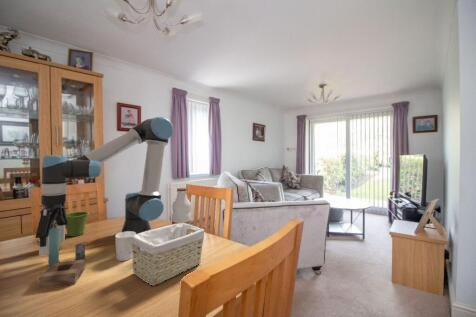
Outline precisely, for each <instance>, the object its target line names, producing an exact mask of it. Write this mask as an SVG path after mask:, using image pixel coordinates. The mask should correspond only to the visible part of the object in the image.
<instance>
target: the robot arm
mask: <svg viewBox="0 0 476 317" xmlns="http://www.w3.org/2000/svg"><path fill="white" fill-rule="evenodd" d="M173 133H174V125H173V123H172V122H171V121H170V119H168V118H166V117H163V116H156V117H155V116H154V117H152V118H147V119H145V120H143V121H141V122H139V123H138V124H136V125H135V126H132V127H131V128H130V129H129V131H128V132H126V133H124V134H122V135H120V136H117V137H116V138H114V139H112V140H110V141H108V142H106V143H104V144H103V145H100V146H98V147H96V148H94V149H93V150H91V151H89V152H87V153H84V154H83V155H81V156H78V157H77V158H73V159H71V160H68V157H67V155H64V154H63V155H61V154H60V155H56V154H54V155H53V154H51V155H50V154H48V155H47V154H46V155H44V156H43V157H42V164H41V186H40V188H41V194H42V195H41V199H40V204H41V205H42V206H43V205H46V210H43V209H41V211H40V218H39V221H38V225H37V230H36V233H35V239H39V240H38V243H39V244H38V256H43V255H44V256H46V255H48V254H49V236H48V234H49V231H50V228H51V225H52V223H53V220H56V222H57V224H58V225H59V226H57V227H56V228H58V229H59V241H62V242H64V241H65V240H66V239H65V236H66V234H65V233H66V225H67V224H68V222H67V216H66V214H67V212H66V208H65V206H66V204H65V203H66V201H67V194H66V193H67V179H86V178H88V179H89V178H90V179H92V178H98V177H100V175H101V174H102V173H101V172H102V166H101V164H103V163H105V162H107V161H109V160H110V159H112V158H113V157H116V156H117V155H119V154H121V153H123V152H125V151H126V150H128V149H130V148H132V147H134V146H135V145H137V144H139V145H141V144H143V143H146V144H147V147H146V154H145V161H144V162H145V163H144V167H143V168H144V170H143V176H142V184H141V190H140V191H135V192H127V193H126V194H125V199H124V211H125V212H124V223H123V226H122V227H121V231H120V233H121V232H126V231H133V232H135V233H136V234H139V233H142V232H145V231H149V230H152V227H151V224H150V222H152V221H154V220H157V219H158V218H160V217H161V216H162V214H163V212H164V209H165V207H164V206H165V205H164V202H162V193H161V192H160V185H161V184H160V183H161V177H162V169H163V160H164V153H165V147H166V146H167V145H168V144H169V139H170V138H171V137H172V136H173V135H174V134H173Z"/></svg>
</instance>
